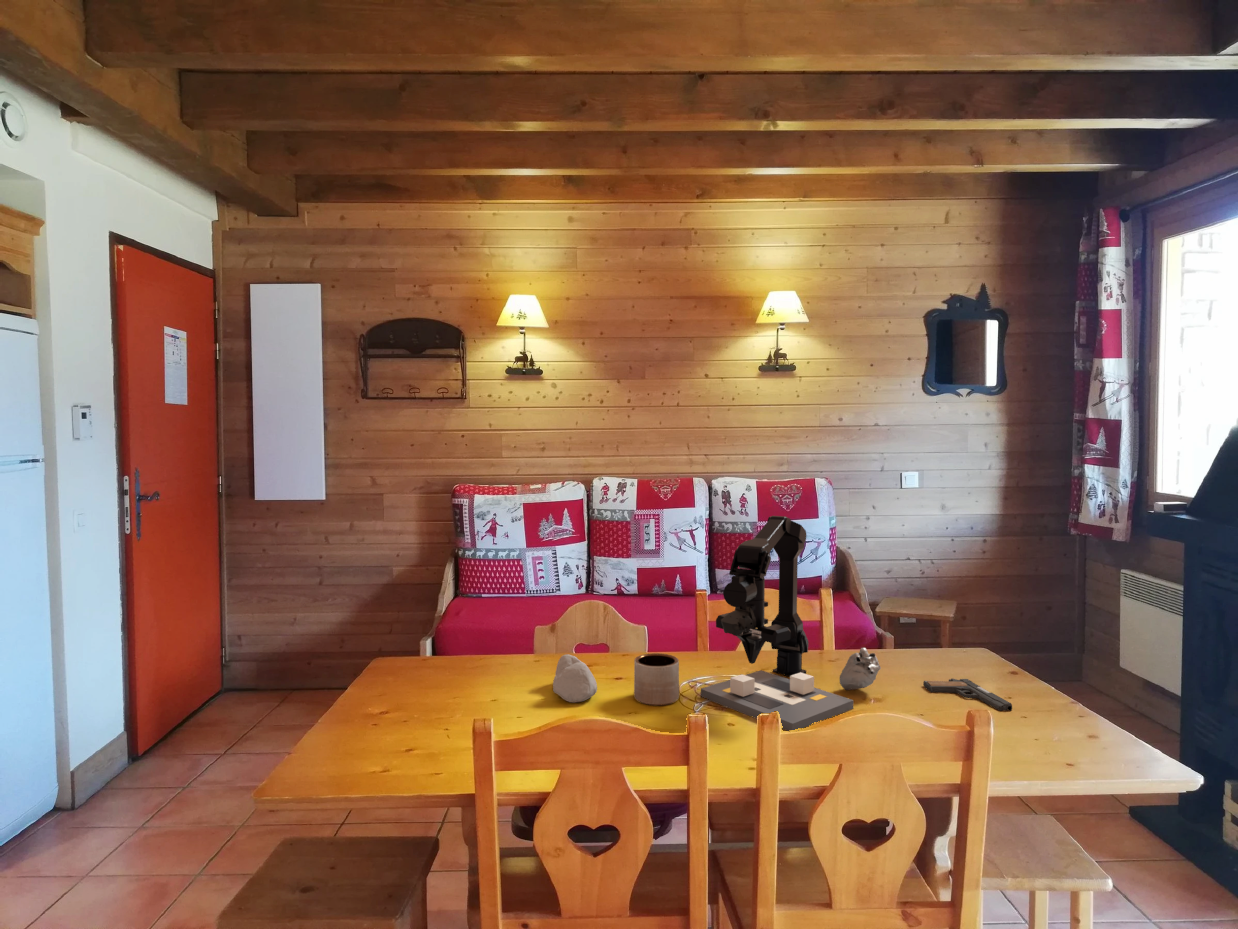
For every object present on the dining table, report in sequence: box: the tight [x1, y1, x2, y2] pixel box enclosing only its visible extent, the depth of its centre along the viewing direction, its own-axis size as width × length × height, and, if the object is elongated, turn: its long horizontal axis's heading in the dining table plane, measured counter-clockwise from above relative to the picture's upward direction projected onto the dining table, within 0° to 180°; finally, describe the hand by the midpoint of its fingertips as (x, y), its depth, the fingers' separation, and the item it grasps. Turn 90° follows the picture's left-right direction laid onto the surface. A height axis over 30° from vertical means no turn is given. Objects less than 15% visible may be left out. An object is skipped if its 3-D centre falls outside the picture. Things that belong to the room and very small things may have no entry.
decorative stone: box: [552, 654, 598, 703], centre depth 194 cm, size 17×10×10 cm
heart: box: [839, 647, 882, 691], centre depth 194 cm, size 10×10×12 cm
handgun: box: [923, 677, 1013, 712], centre depth 190 cm, size 19×2×12 cm
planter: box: [633, 652, 680, 707], centre depth 189 cm, size 11×11×10 cm
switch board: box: [700, 669, 854, 732], centre depth 187 cm, size 22×28×2 cm
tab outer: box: [729, 674, 755, 697], centre depth 187 cm, size 4×4×4 cm
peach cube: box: [789, 672, 815, 695], centre depth 188 cm, size 4×4×4 cm
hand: (751, 663), depth 185 cm, fingers closed
